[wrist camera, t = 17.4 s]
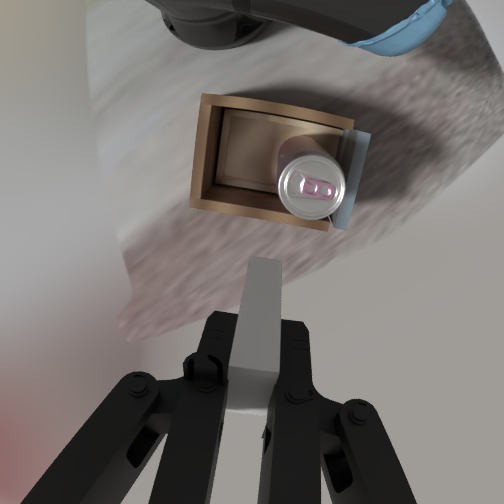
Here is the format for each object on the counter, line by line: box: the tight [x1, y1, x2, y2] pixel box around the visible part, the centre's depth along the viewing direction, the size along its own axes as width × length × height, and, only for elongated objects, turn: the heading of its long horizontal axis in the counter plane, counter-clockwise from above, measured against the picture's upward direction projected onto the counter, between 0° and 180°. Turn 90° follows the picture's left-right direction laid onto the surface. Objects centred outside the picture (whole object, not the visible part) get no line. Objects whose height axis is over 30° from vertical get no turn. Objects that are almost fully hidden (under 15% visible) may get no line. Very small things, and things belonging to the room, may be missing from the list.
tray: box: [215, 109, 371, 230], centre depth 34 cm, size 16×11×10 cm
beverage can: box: [276, 136, 346, 220], centre depth 30 cm, size 6×6×15 cm
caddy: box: [189, 93, 354, 231], centre depth 34 cm, size 16×13×9 cm
